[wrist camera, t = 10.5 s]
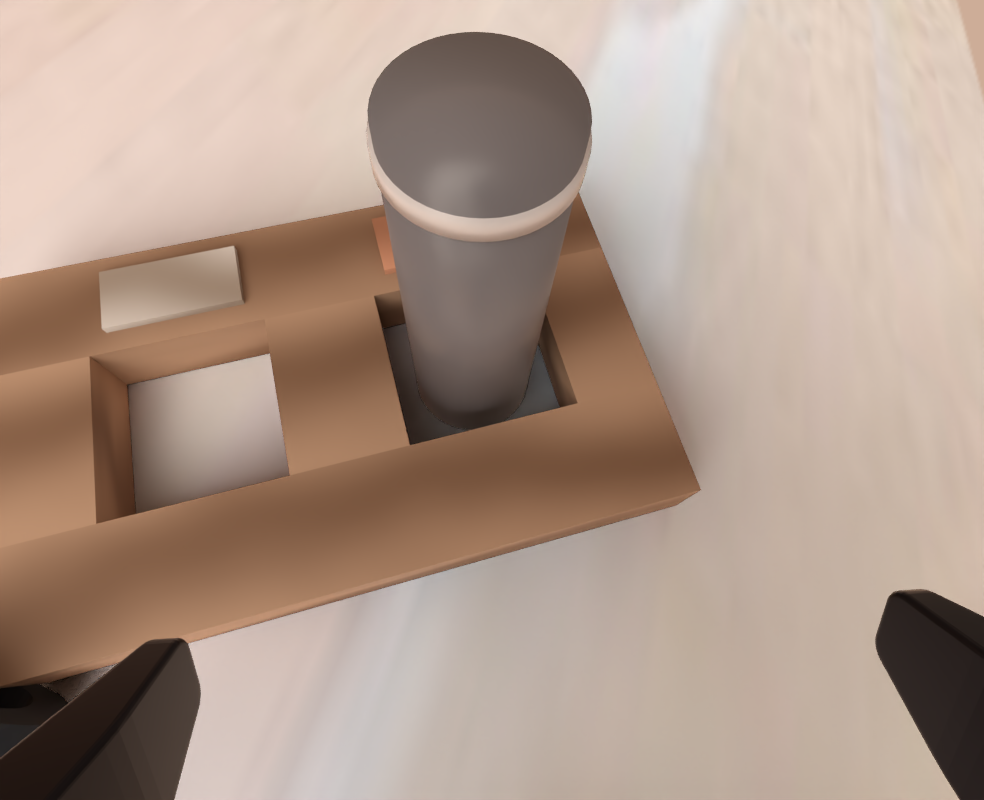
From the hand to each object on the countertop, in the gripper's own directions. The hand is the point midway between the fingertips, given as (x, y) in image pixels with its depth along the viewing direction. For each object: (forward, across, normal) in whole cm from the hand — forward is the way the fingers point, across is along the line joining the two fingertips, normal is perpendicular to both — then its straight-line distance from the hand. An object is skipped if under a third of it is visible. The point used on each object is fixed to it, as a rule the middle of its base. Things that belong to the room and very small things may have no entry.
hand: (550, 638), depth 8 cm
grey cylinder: (+16, 0, +3) cm, 17 cm away
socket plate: (+16, +5, +4) cm, 17 cm away
